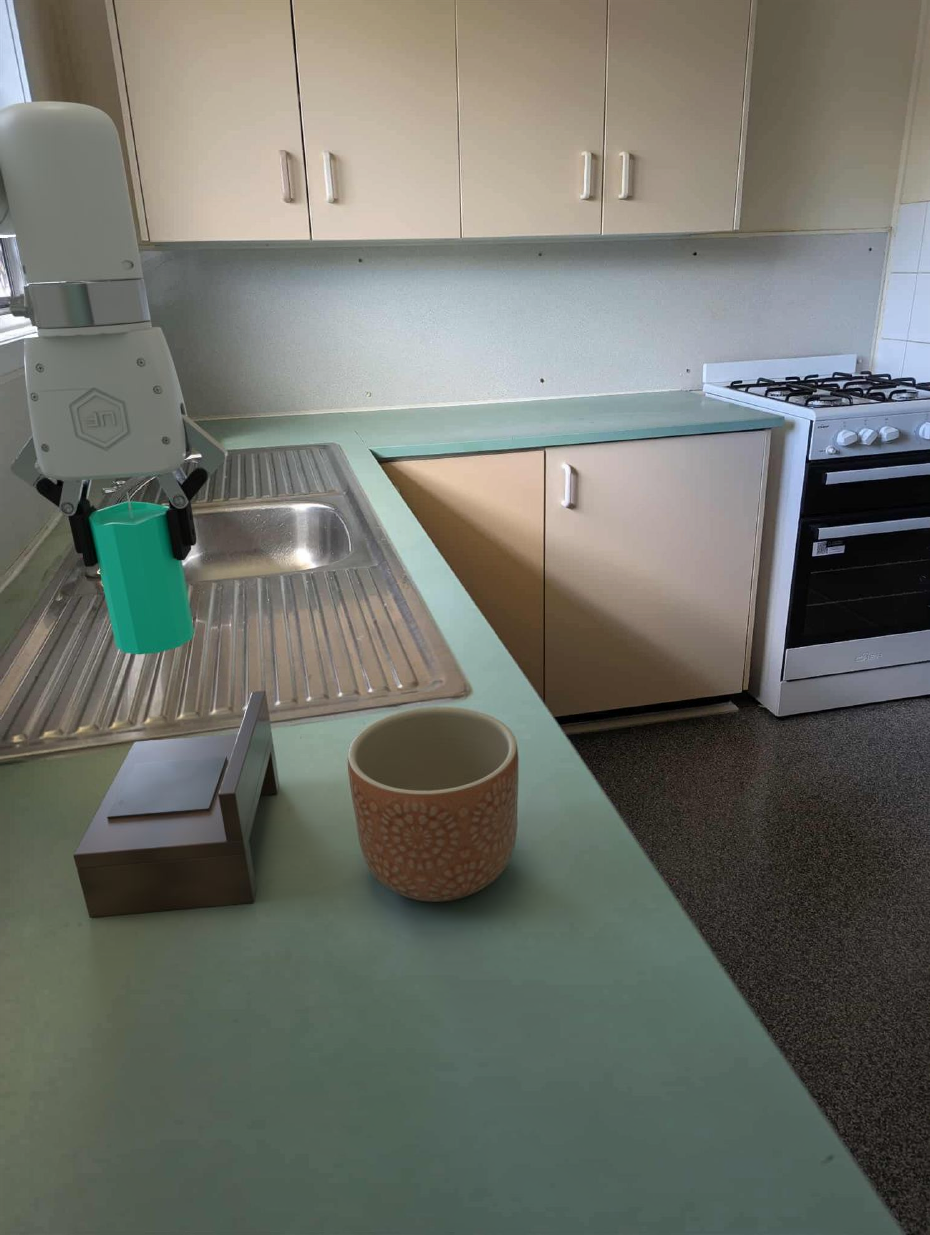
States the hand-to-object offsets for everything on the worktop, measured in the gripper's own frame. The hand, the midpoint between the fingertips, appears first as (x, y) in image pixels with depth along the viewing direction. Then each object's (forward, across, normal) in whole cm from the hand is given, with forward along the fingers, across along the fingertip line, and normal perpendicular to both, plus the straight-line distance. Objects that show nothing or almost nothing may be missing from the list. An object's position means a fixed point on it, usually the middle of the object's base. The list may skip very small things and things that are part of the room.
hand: (139, 556), depth 67 cm
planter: (+24, +21, -11) cm, 34 cm away
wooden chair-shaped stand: (+23, +1, -5) cm, 24 cm away
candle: (+7, 0, 0) cm, 7 cm away
